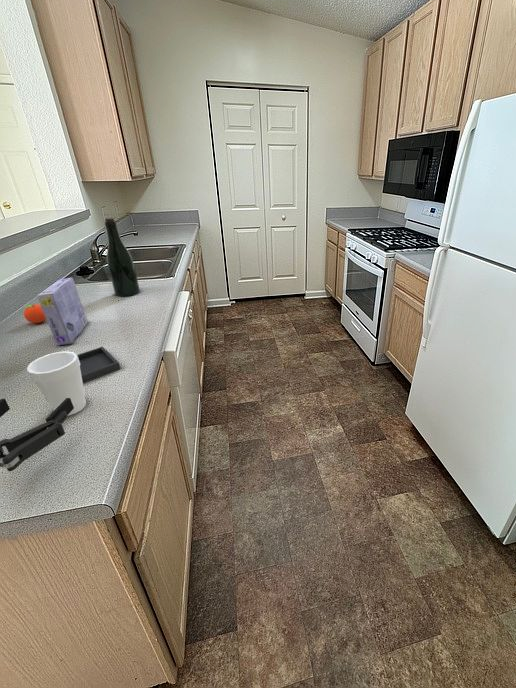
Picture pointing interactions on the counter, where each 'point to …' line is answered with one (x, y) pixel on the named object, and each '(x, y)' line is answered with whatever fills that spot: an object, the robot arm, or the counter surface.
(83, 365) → the shallow black tray
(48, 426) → the robot arm
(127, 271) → the beer bottle
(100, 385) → the counter surface
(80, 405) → the foam cup
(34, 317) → the red tomato
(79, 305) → the cake pan box
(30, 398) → the counter surface
